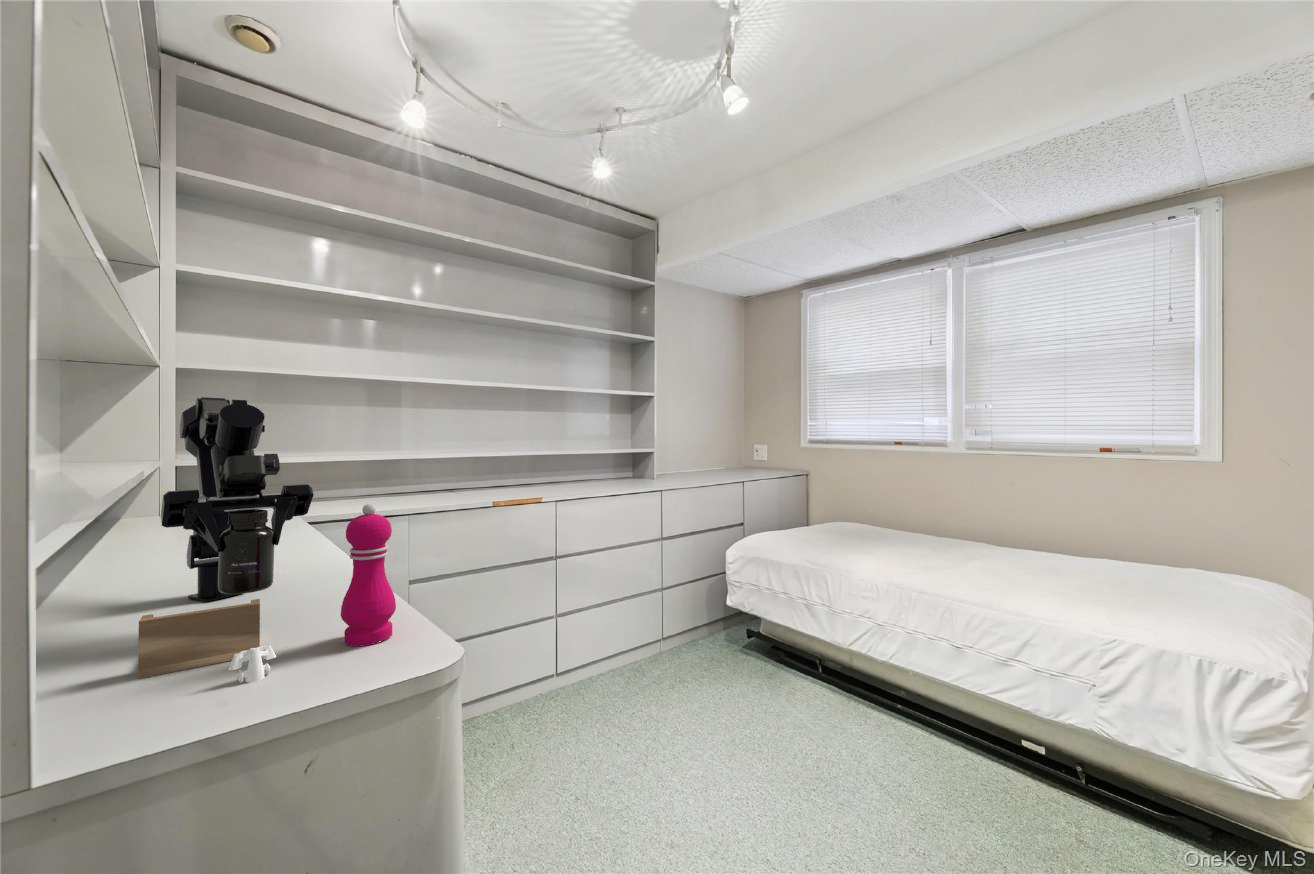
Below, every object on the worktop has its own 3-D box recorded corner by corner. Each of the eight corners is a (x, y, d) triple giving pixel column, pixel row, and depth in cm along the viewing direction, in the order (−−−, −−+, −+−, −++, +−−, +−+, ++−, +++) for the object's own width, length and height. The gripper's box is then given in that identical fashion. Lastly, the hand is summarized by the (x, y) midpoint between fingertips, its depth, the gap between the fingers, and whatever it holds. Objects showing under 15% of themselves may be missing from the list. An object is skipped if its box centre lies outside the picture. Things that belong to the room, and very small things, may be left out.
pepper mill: (405, 630, 82) (405, 501, 82) (376, 648, 75) (376, 506, 75) (361, 629, 83) (362, 500, 83) (328, 647, 76) (329, 506, 76)
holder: (151, 651, 74) (151, 600, 74) (258, 632, 82) (258, 586, 82) (138, 678, 66) (138, 621, 66) (259, 654, 73) (259, 603, 73)
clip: (274, 669, 68) (274, 640, 68) (280, 673, 67) (281, 643, 67) (226, 684, 64) (226, 653, 64) (232, 688, 63) (232, 656, 63)
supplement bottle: (235, 597, 78) (236, 515, 78) (207, 591, 80) (208, 512, 80) (283, 585, 84) (284, 509, 84) (256, 580, 87) (257, 506, 87)
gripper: (163, 436, 78) (170, 521, 71) (311, 437, 92) (330, 508, 84) (158, 485, 83) (164, 569, 76) (298, 479, 97) (315, 549, 90)
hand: (249, 547), depth 81 cm, fingers closed on supplement bottle, 7 cm apart
